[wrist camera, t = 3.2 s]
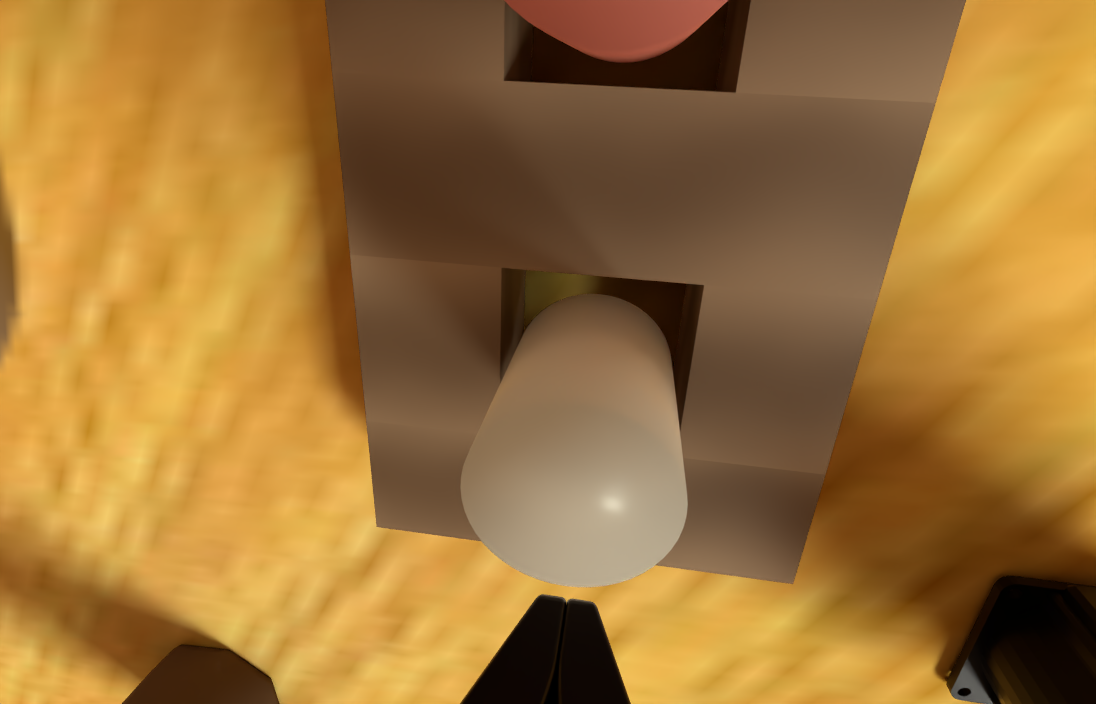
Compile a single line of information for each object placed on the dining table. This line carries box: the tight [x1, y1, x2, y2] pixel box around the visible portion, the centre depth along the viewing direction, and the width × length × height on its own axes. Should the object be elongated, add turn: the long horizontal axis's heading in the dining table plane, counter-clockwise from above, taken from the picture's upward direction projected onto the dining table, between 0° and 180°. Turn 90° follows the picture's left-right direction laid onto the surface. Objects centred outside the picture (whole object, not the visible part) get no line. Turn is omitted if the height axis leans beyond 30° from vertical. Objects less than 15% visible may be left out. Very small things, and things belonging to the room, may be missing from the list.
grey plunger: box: [460, 294, 688, 587], centre depth 14 cm, size 4×4×6 cm
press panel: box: [325, 0, 966, 584], centre depth 17 cm, size 24×14×4 cm, turn 177°
